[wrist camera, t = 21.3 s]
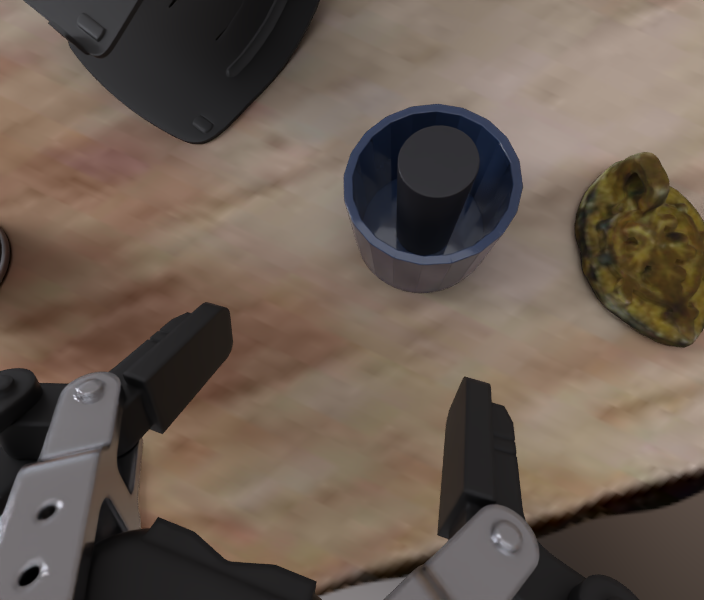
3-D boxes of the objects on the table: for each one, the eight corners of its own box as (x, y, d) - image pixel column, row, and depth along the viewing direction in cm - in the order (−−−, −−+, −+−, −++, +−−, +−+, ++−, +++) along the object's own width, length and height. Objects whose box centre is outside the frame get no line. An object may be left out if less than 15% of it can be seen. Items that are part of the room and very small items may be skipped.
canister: (390, 248, 30) (388, 188, 20) (403, 199, 31) (408, 118, 21) (444, 261, 29) (470, 205, 19) (457, 210, 30) (487, 132, 20)
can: (340, 274, 30) (322, 241, 23) (375, 160, 32) (370, 92, 24) (471, 308, 29) (501, 284, 21) (501, 184, 30) (538, 119, 23)
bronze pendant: (730, 333, 27) (650, 162, 30) (808, 323, 22) (704, 123, 25) (616, 361, 26) (546, 185, 30) (671, 358, 22) (582, 150, 25)
